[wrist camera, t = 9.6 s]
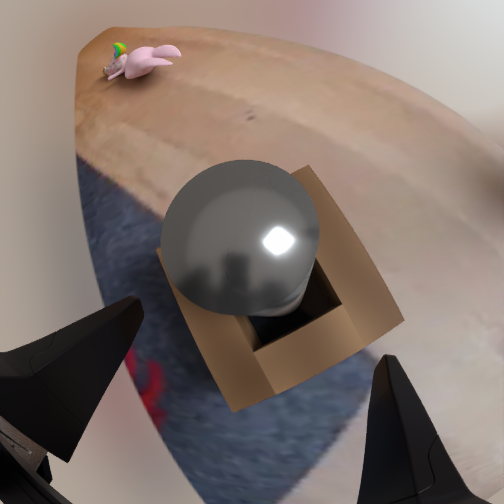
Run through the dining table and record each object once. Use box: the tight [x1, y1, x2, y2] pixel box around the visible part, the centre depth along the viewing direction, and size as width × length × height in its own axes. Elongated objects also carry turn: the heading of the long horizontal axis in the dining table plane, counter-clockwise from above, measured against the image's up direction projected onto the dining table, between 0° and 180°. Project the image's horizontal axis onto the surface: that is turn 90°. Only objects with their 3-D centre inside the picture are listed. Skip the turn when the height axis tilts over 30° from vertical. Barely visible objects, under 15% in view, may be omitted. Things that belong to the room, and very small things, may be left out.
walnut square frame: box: [156, 165, 404, 412], centre depth 16 cm, size 10×10×4 cm
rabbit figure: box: [100, 43, 181, 80], centre depth 23 cm, size 6×6×15 cm
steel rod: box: [161, 160, 320, 317], centre depth 11 cm, size 3×3×13 cm
